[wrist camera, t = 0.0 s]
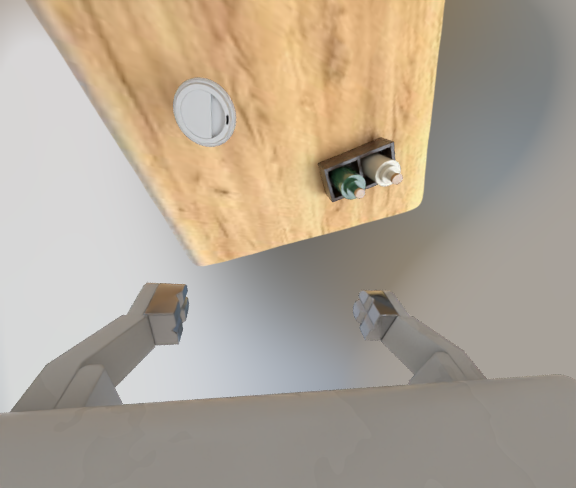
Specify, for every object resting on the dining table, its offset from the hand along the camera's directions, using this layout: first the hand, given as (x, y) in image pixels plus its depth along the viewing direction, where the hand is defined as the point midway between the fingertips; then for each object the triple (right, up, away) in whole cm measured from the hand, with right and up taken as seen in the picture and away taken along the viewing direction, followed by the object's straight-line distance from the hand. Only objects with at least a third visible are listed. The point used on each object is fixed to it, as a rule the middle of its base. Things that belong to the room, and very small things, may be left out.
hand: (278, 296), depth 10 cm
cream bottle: (+21, +23, +45) cm, 55 cm away
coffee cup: (-14, +30, +36) cm, 49 cm away
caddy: (+17, +22, +46) cm, 54 cm away
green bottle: (+13, +20, +46) cm, 52 cm away
